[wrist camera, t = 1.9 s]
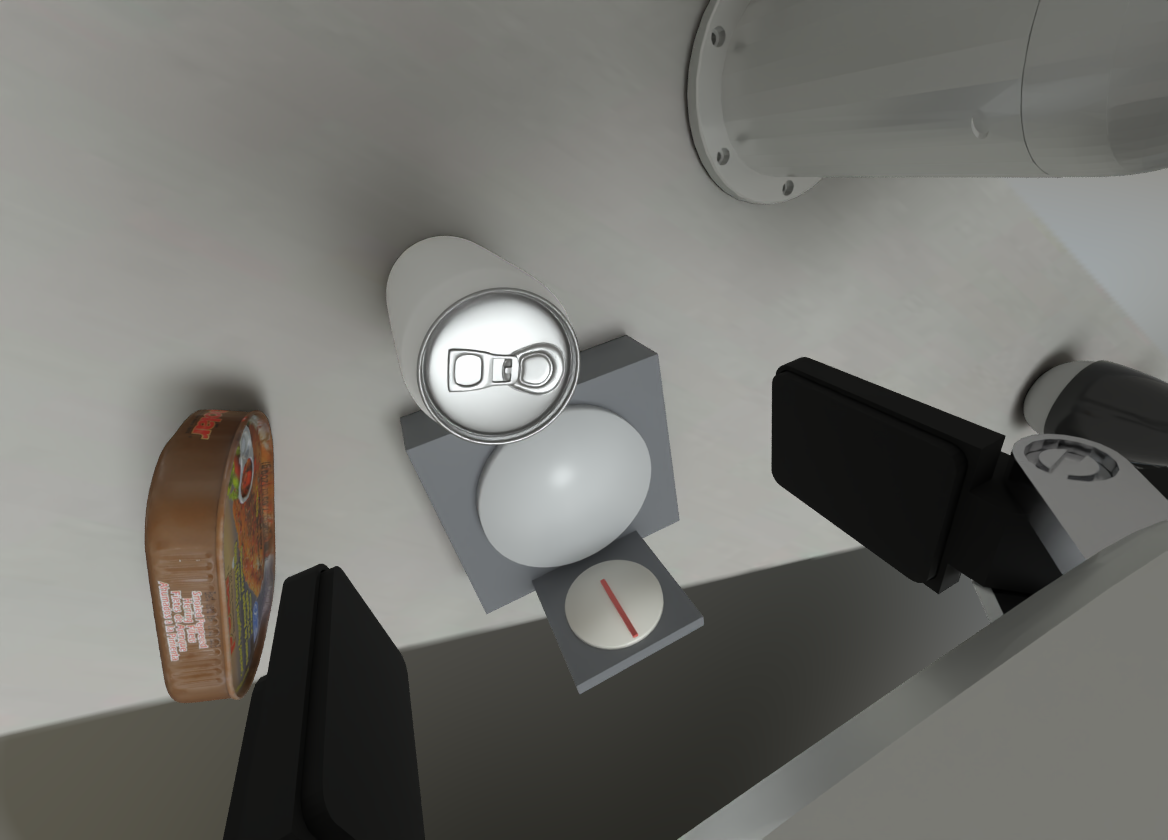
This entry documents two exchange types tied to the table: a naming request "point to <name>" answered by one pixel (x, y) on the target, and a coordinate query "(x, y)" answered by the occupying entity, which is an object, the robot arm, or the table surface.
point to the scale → (571, 513)
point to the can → (480, 341)
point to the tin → (212, 553)
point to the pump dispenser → (1103, 408)
